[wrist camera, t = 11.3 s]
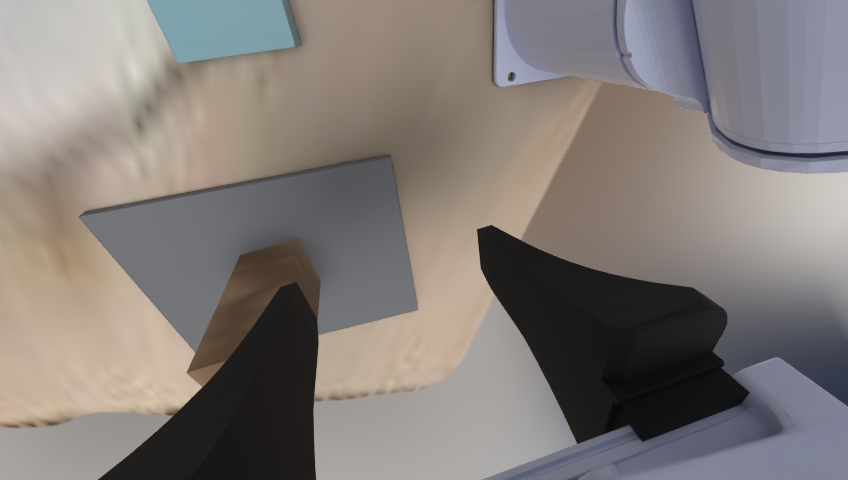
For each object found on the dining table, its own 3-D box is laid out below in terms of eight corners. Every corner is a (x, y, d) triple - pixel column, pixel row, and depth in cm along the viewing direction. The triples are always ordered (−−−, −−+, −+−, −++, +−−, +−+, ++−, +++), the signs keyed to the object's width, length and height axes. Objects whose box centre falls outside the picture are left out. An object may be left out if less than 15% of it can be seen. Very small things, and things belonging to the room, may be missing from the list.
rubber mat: (389, 154, 20) (390, 157, 20) (416, 305, 28) (418, 309, 28) (85, 212, 18) (78, 216, 18) (207, 357, 26) (204, 363, 26)
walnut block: (298, 238, 21) (276, 345, 14) (320, 280, 24) (311, 391, 16) (240, 255, 21) (186, 372, 14) (268, 296, 23) (235, 415, 16)
